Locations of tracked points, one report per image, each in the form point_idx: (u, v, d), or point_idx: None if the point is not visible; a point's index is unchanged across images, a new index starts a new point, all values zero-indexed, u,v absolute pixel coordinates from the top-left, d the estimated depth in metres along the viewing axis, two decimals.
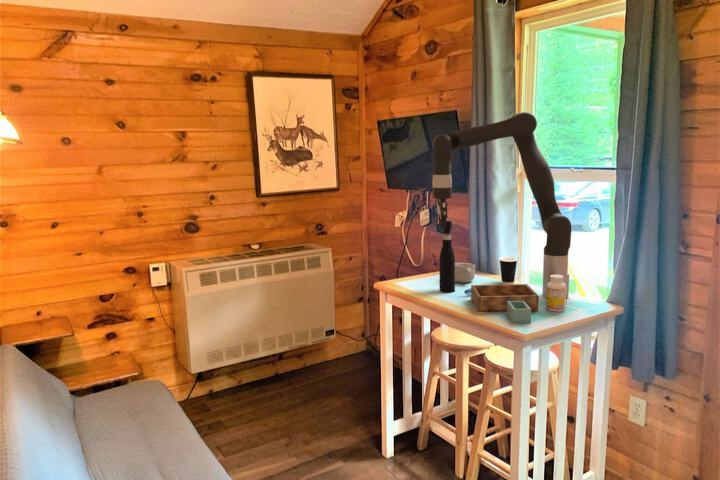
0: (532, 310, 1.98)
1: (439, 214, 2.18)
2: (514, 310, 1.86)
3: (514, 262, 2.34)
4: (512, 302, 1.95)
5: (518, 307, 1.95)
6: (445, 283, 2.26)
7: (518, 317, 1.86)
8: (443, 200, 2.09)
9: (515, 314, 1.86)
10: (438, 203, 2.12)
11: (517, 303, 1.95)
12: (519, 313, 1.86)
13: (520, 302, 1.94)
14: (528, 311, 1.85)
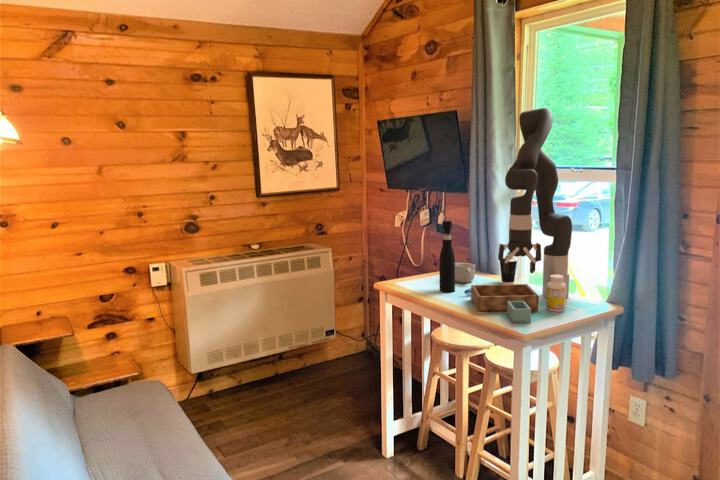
0: (532, 310, 1.98)
1: None
2: (514, 310, 1.86)
3: (514, 262, 2.34)
4: (512, 302, 1.95)
5: (518, 307, 1.95)
6: (445, 283, 2.26)
7: (518, 317, 1.86)
8: (530, 242, 1.86)
9: (515, 314, 1.86)
10: (525, 247, 1.85)
11: (517, 303, 1.95)
12: (519, 313, 1.86)
13: (520, 302, 1.94)
14: (528, 311, 1.85)
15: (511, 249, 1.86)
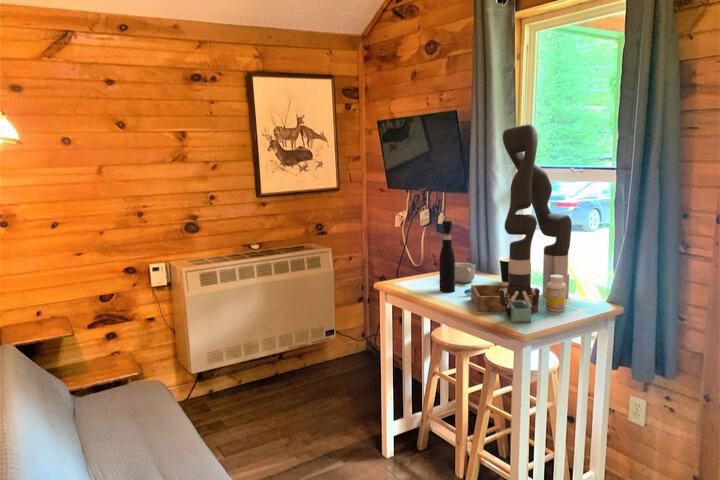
0: (532, 310, 1.98)
1: None
2: (514, 310, 1.86)
3: None
4: None
5: (518, 307, 1.95)
6: (445, 283, 2.26)
7: (518, 317, 1.86)
8: None
9: (515, 314, 1.86)
10: (524, 290, 1.88)
11: (517, 303, 1.95)
12: (519, 313, 1.86)
13: (520, 302, 1.94)
14: (528, 311, 1.85)
15: (511, 293, 1.89)
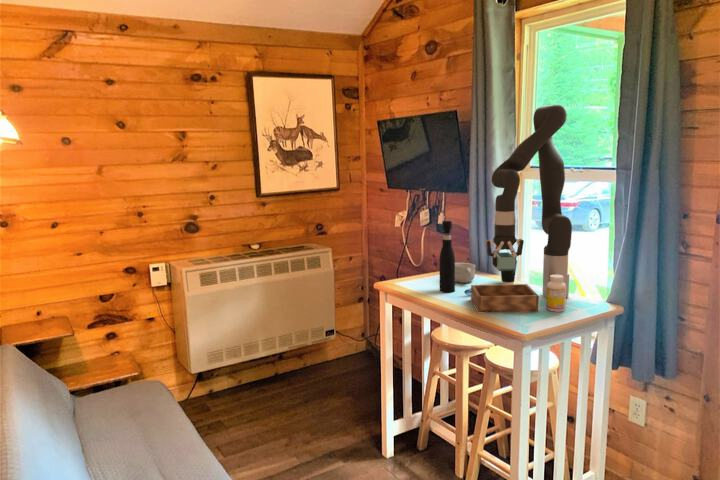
0: (532, 310, 1.98)
1: (496, 255, 2.03)
2: (500, 258, 1.99)
3: None
4: (498, 253, 2.08)
5: None
6: (445, 283, 2.26)
7: (503, 265, 1.99)
8: (514, 236, 2.02)
9: (501, 262, 1.99)
10: (509, 241, 2.01)
11: (503, 254, 2.08)
12: (504, 261, 1.99)
13: (506, 253, 2.08)
14: (513, 259, 1.99)
15: (497, 244, 2.02)
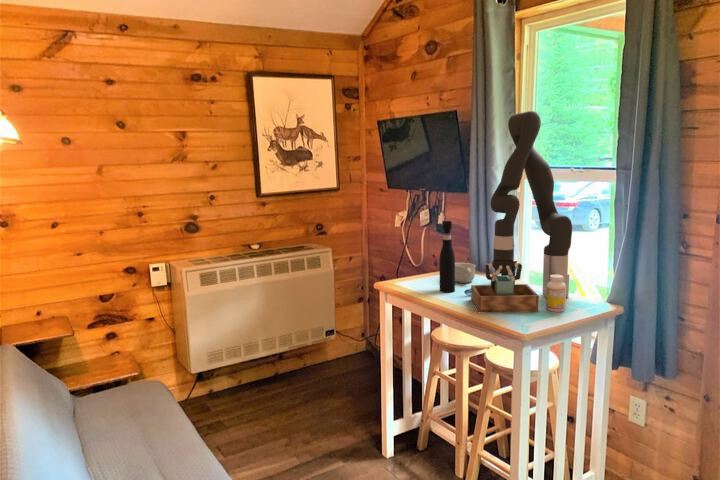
0: (532, 310, 1.98)
1: (494, 279, 2.05)
2: (498, 283, 2.01)
3: (514, 262, 2.34)
4: (497, 277, 2.10)
5: (503, 281, 2.10)
6: (445, 283, 2.26)
7: (502, 289, 2.01)
8: None
9: (499, 286, 2.01)
10: (508, 265, 2.03)
11: (502, 278, 2.10)
12: (502, 286, 2.01)
13: (504, 277, 2.10)
14: (511, 284, 2.01)
15: (495, 268, 2.04)
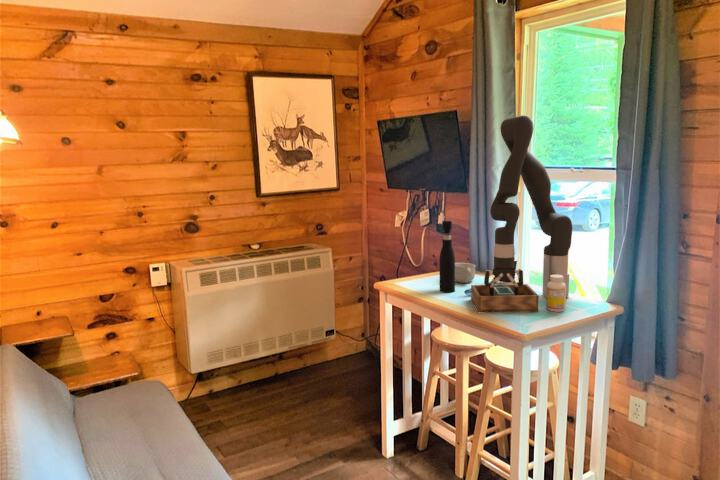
0: (532, 310, 1.98)
1: (492, 285, 2.05)
2: (499, 294, 2.01)
3: (514, 262, 2.34)
4: (497, 288, 2.10)
5: (503, 292, 2.11)
6: (445, 283, 2.26)
7: None
8: (513, 268, 2.04)
9: None
10: (508, 273, 2.03)
11: (503, 289, 2.10)
12: None
13: (505, 288, 2.10)
14: (512, 295, 2.01)
15: (496, 275, 2.04)
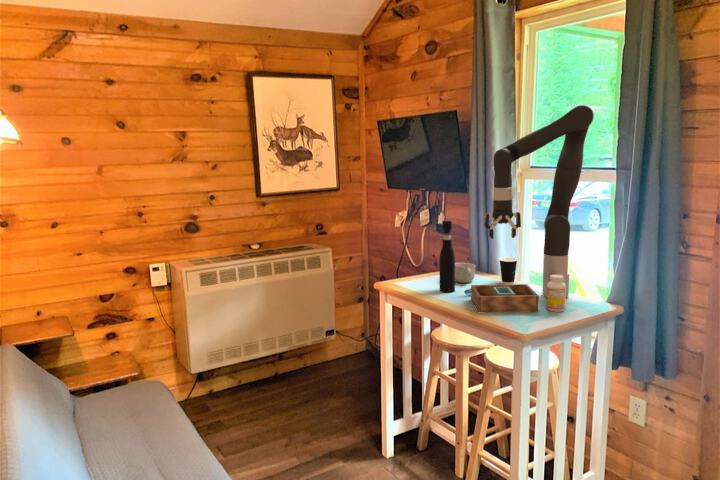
0: (532, 310, 1.98)
1: None
2: (499, 294, 2.01)
3: (514, 262, 2.34)
4: (497, 288, 2.10)
5: (503, 292, 2.11)
6: (445, 283, 2.26)
7: None
8: (511, 211, 2.18)
9: None
10: (507, 215, 2.17)
11: (503, 289, 2.10)
12: None
13: (505, 288, 2.10)
14: (512, 295, 2.01)
15: (495, 217, 2.18)
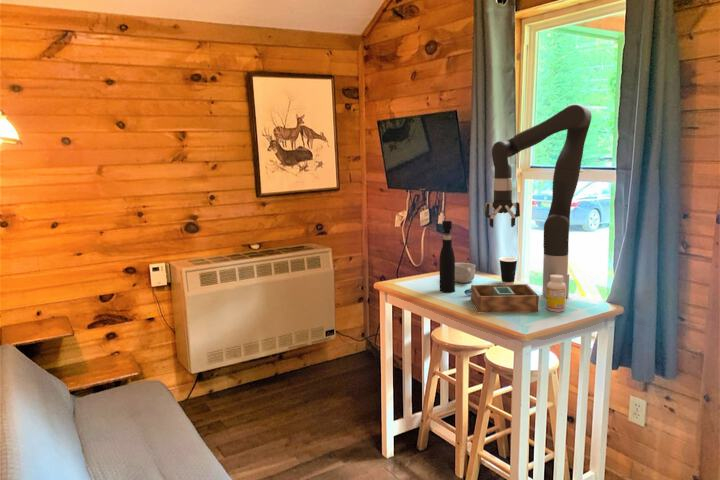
0: (532, 310, 1.98)
1: (492, 217, 2.29)
2: (499, 294, 2.01)
3: (514, 262, 2.34)
4: (497, 288, 2.10)
5: (503, 292, 2.11)
6: (445, 283, 2.26)
7: None
8: None
9: None
10: (506, 205, 2.26)
11: (503, 289, 2.10)
12: None
13: (505, 288, 2.10)
14: (512, 295, 2.01)
15: (495, 207, 2.27)
